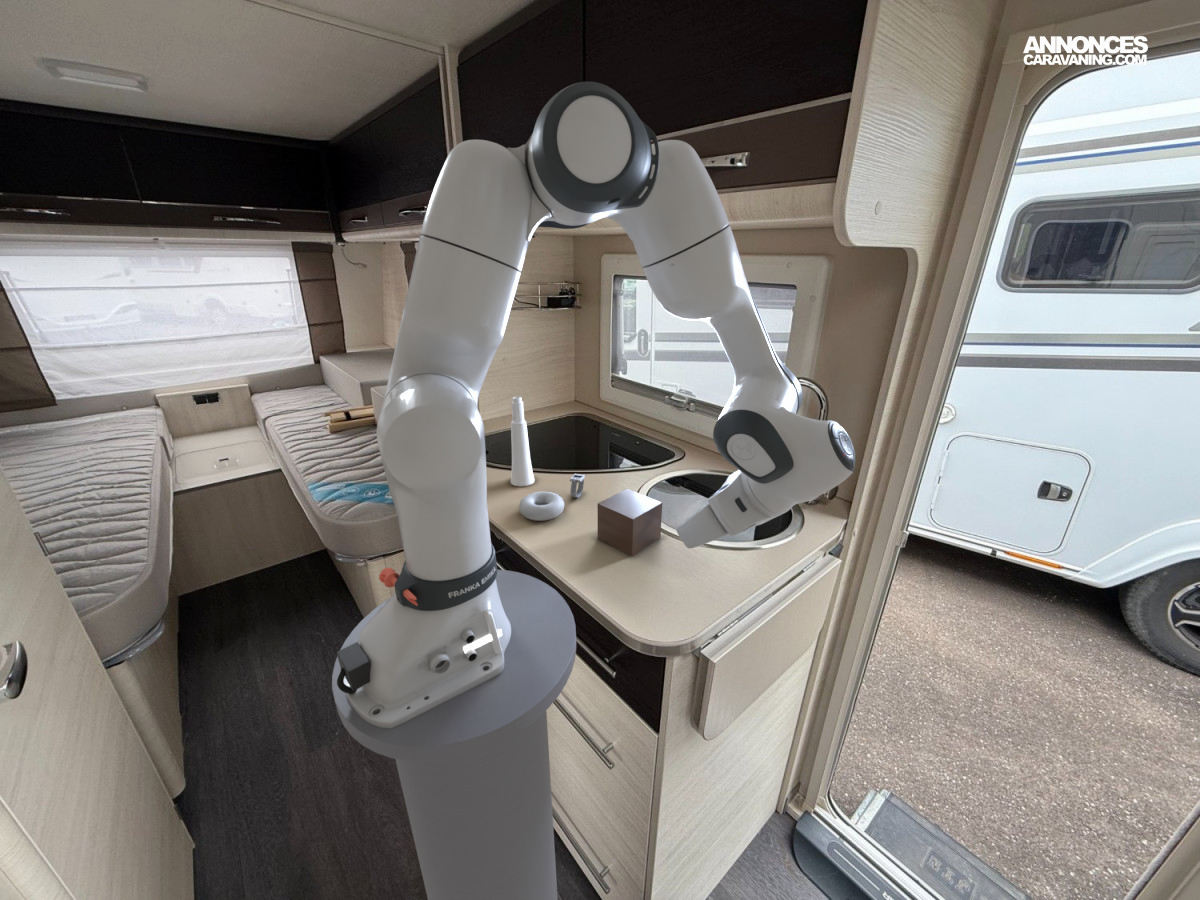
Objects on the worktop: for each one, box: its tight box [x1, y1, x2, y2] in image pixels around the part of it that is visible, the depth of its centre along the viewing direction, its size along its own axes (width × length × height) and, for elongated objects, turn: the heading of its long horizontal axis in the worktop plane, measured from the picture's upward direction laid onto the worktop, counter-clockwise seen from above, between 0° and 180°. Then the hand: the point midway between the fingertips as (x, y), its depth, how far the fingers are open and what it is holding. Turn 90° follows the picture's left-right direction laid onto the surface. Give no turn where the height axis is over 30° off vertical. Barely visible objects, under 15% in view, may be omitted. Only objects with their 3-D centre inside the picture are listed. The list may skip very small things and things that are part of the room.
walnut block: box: [597, 488, 663, 557], centre depth 93 cm, size 9×9×8 cm
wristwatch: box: [569, 473, 586, 499], centre depth 111 cm, size 6×3×5 cm, turn 164°
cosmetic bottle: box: [510, 396, 535, 487], centre depth 115 cm, size 6×6×22 cm
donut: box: [518, 491, 565, 522], centre depth 103 cm, size 10×4×10 cm
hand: (694, 527), depth 82 cm, fingers closed
